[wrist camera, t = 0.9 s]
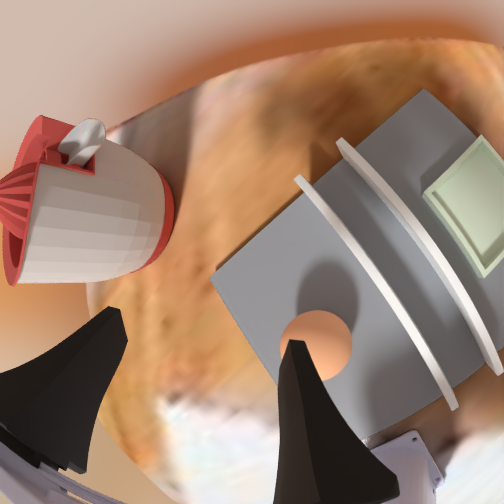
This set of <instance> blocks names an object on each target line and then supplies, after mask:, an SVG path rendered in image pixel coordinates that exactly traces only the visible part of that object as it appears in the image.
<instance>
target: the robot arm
mask: <svg viewBox="0 0 504 504" xmlns="http://www.w3.org/2000/svg"><path fill="white" fill-rule="evenodd" d="M127 342H128V339H127V335H126V332H125V328H124V324H123V320H122V316H121V311H120V309H117V308H114V307H110V306H108V307H107V308H105V309H104V310H103V311H101V312H100V313H99V314H97V315H96V316H95V317H94V318H92V319H91V320H90V321H89V322H87V323H86V324H85V325H83V326H82V327H81V328H80V329H78V330H77V331H76V332H74V333H73V334H72V335H70V336H69V337H68V338H66V339H65V340H63V341H62V342H61V343H59V344H58V345H57V346H55V347H53V348H52V349H50V350H49V351H47V352H45V353H44V354H42V355H40V356H39V357H37V358H35V359H33V360H31V361H29V362H27V363H25V364H23V365H21V366H19V367H16V368H14V369H11V370H8V371H5V372H3V373H0V491H1V492H2V493H3V494H4V495H5V496H6V497H7V498H8V499H9V500H10V501H11V502H12V503H13V504H88V503H85V502H83V501H81V500H79V499H76V498H74V497H72V496H69V495H68V493H67V491H69V492H71V493H73V494H75V495H77V496H79V497H81V498H83V499H85V500H87V501H89V502H91V503H93V504H126V503H123V502H121V501H118V500H115V499H113V498H110V497H108V496H105V495H103V494H101V493H99V492H96V491H94V490H92V489H90V488H88V487H86V486H84V485H81V484H80V483H78V482H76V481H74V480H72V479H70V478H68V477H66V476H65V475H63V474H61V473H59V472H58V469H59V468H61V469H63V470H64V471H66V470H67V468H69V469H71V470H73V471H75V472H77V473H79V474H83V473H85V472H86V471H87V460H88V452H89V446H90V441H91V436H92V432H93V428H94V424H95V420H96V417H97V413H98V410H99V407H100V404H101V402H102V399H103V397H104V395H105V392H106V390H107V388H108V386H109V384H110V382H111V380H112V378H113V376H114V374H115V372H116V370H117V368H118V366H119V364H120V361H121V359H122V356H123V354H124V351H125V348H126V345H127ZM278 407H279V427H280V446H279V459H278V470H277V479H276V487H275V495H274V501H273V504H436V488H438V487H440V486H442V485H443V484H444V483H445V481H444V478H443V476H442V474H441V472H440V470H439V469H438V467H437V465H436V463H435V461H434V460H433V458H432V456H431V454H430V452H429V451H428V449H427V447H426V445H425V444H424V442H423V440H422V438H421V437H420V435H419V433H418V432H417V431H416V430H412V431H409V432H407V433H406V434H404V435H402V436H400V437H398V438H396V439H394V440H391V441H389V442H387V443H385V444H383V445H381V446H378V447H376V448H374V449H372V450H369V449H368V448H367V447H366V446H365V445H364V444H363V442H362V441H361V440H360V439H359V438H358V437H357V435H356V434H355V433H354V432H353V430H352V429H351V428H350V426H349V425H348V424H347V422H346V421H345V419H344V418H343V416H342V415H341V414H340V412H339V410H338V409H337V407H336V406H335V404H334V402H333V400H332V399H331V397H330V395H329V393H328V392H327V390H326V388H325V386H324V384H323V382H322V380H321V378H320V376H319V374H318V372H317V369H316V367H315V365H314V363H313V360H312V358H311V355H310V353H309V350H308V348H307V345H306V343H305V341H303V340H293V339H289V341H288V344H287V347H286V350H285V353H284V356H283V359H282V362H281V364H280V367H279V377H278ZM413 438H417V439H415V440H413ZM436 478H437V479H436Z"/></svg>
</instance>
